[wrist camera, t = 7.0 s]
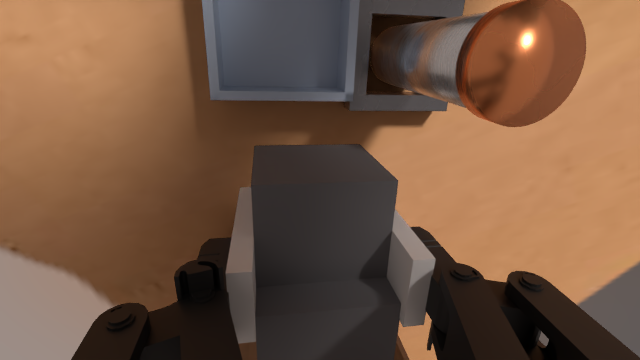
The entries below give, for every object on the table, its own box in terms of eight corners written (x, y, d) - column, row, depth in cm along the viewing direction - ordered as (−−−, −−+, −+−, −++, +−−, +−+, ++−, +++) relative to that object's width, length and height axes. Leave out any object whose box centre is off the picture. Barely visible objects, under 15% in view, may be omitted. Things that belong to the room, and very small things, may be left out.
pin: (369, 20, 21) (486, -7, 10) (429, 23, 21) (603, 0, 10) (364, 87, 22) (461, 127, 11) (420, 87, 23) (564, 126, 12)
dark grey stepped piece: (254, 145, 15) (249, 204, 9) (359, 144, 16) (416, 197, 10) (259, 273, 18) (258, 384, 12) (350, 266, 19) (392, 367, 13)
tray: (205, -59, 18) (195, -77, 15) (349, -48, 19) (363, -63, 17) (217, 93, 21) (210, 100, 18) (341, 94, 22) (352, 101, 20)
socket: (350, -4, 20) (356, -8, 19) (452, 1, 21) (465, -2, 20) (344, 106, 23) (349, 110, 21) (435, 107, 24) (446, 111, 22)
